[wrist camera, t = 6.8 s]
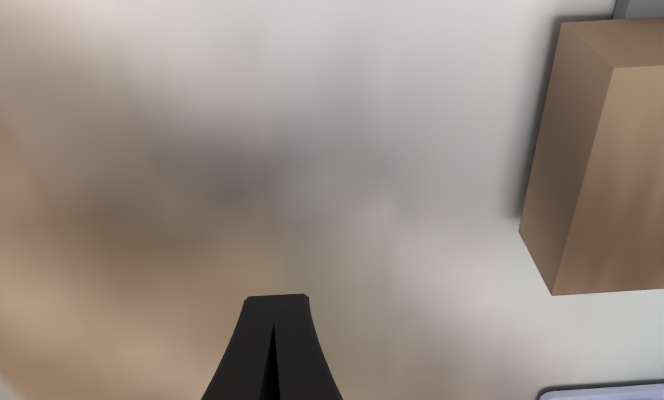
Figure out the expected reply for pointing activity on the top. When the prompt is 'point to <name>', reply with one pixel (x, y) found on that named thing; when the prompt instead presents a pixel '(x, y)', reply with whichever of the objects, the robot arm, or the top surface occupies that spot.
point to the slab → (600, 161)
